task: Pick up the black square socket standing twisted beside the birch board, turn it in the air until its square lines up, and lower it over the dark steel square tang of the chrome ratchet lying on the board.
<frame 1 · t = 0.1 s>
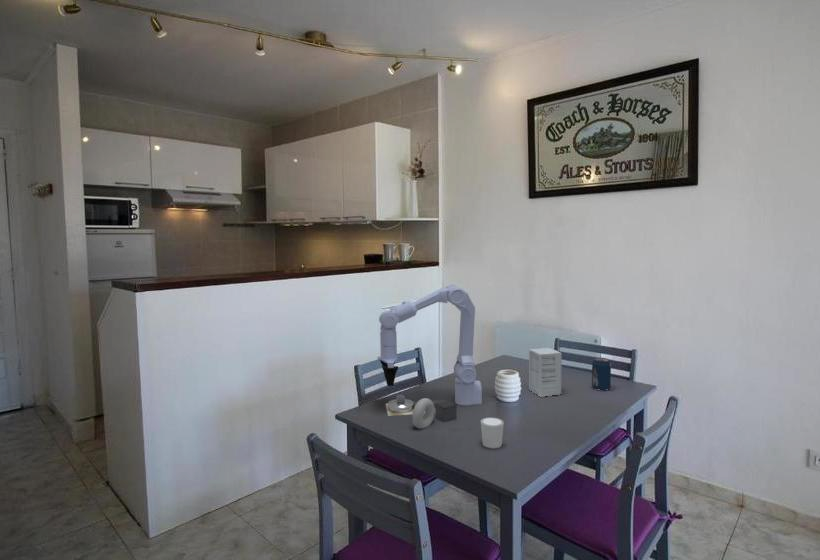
hand: (389, 382, 170), 10 cm above the table, tool pointing down, fingers open, 7 cm apart
shot glass: (492, 444, 142), on the table
soda can: (600, 389, 191), on the table
socket: (446, 421, 159), on the table
donut: (423, 429, 153), on the table
supplement box: (544, 393, 187), on the table
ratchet: (417, 407, 169), resting on board
board: (417, 410, 169), on the table
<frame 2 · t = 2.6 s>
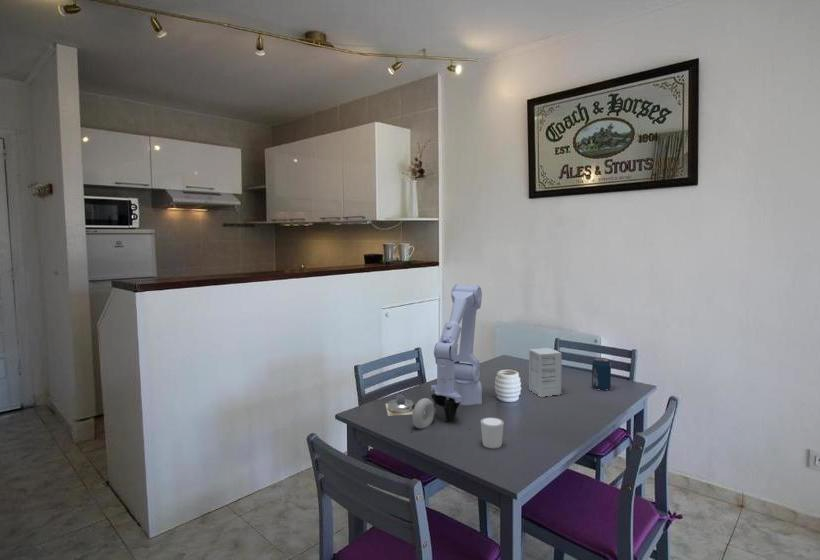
hand: (446, 417, 159), 1 cm above the table, tool pointing down, fingers closed on socket, 5 cm apart
socket: (446, 421, 159), on the table, touching gripper
everything else where it was.
when the fingers open (6 cm above the table, at t = 7.2 s): socket stays where it is, resting on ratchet.
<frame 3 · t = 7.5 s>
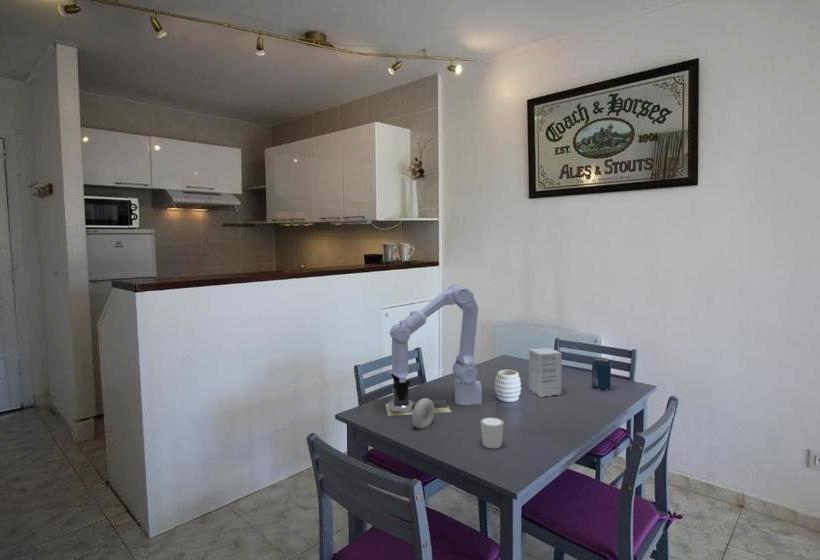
hand: (400, 396, 168), 6 cm above the table, tool pointing down, fingers open, 7 cm apart
socket: (400, 403, 168), point 3 cm above the table, touching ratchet
everything else where it was.
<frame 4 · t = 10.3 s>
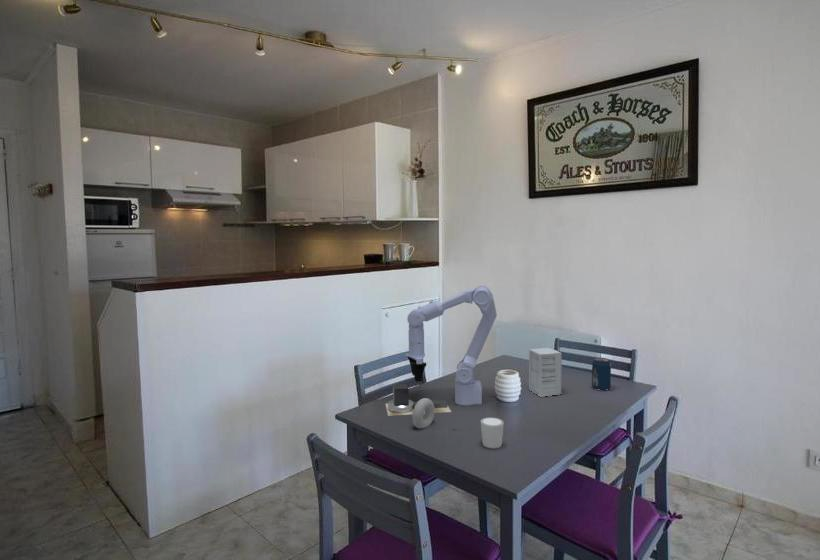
hand: (416, 378, 176), 9 cm above the table, tool pointing down, fingers open, 7 cm apart
nothing on the table moved.
at the end: socket 0.0 cm from the target spot on the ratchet, point 2.0 cm above the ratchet's base; socket tilted 0°; the gripper is holding nothing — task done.
